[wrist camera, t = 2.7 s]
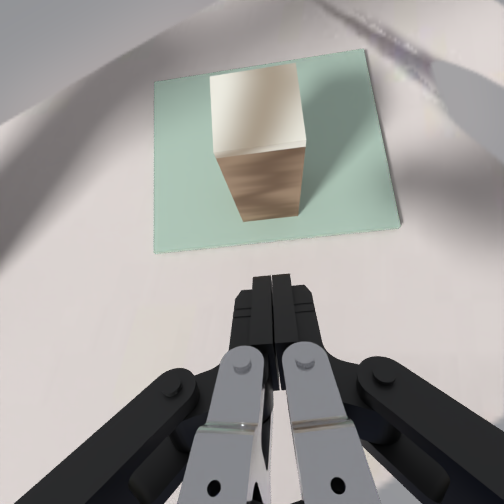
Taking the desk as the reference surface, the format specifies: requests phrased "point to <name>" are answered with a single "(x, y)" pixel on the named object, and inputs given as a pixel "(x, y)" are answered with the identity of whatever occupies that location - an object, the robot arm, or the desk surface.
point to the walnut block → (260, 139)
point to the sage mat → (314, 171)
